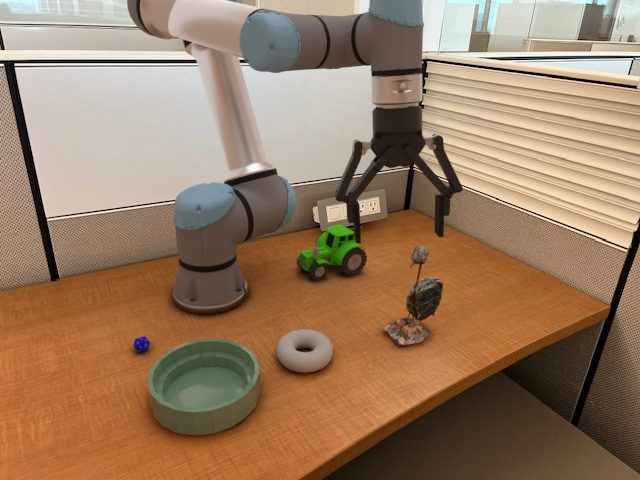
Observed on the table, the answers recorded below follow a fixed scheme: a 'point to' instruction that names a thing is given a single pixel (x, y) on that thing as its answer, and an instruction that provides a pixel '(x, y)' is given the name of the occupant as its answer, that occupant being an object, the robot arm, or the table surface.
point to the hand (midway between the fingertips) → (398, 237)
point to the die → (141, 344)
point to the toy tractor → (333, 253)
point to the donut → (304, 360)
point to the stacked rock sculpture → (417, 304)
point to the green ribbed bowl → (204, 386)
